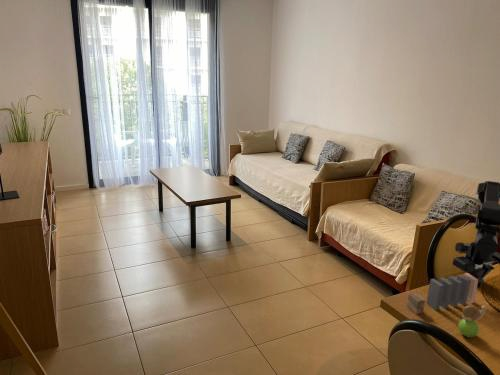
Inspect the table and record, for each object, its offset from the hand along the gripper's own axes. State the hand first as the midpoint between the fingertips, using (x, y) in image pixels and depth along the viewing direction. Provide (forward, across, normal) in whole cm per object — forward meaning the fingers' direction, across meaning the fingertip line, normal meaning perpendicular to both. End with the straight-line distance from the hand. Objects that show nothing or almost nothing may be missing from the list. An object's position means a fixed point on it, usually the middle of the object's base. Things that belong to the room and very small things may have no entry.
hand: (475, 282), depth 133 cm
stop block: (+7, +24, 0) cm, 25 cm away
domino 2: (+7, +13, 0) cm, 15 cm away
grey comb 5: (+7, +17, 0) cm, 18 cm away
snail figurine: (+7, +17, +15) cm, 24 cm away
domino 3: (+7, +9, 0) cm, 11 cm away
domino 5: (+7, +2, 0) cm, 7 cm away
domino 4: (+7, +6, 0) cm, 9 cm away
